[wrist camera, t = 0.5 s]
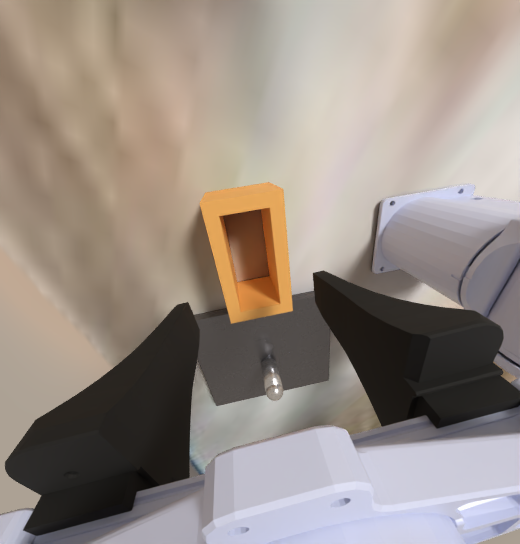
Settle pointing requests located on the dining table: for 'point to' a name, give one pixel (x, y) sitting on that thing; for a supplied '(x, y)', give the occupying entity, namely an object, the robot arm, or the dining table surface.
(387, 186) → the dining table surface
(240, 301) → the orange hollow rectangular block
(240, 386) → the keeper plate
